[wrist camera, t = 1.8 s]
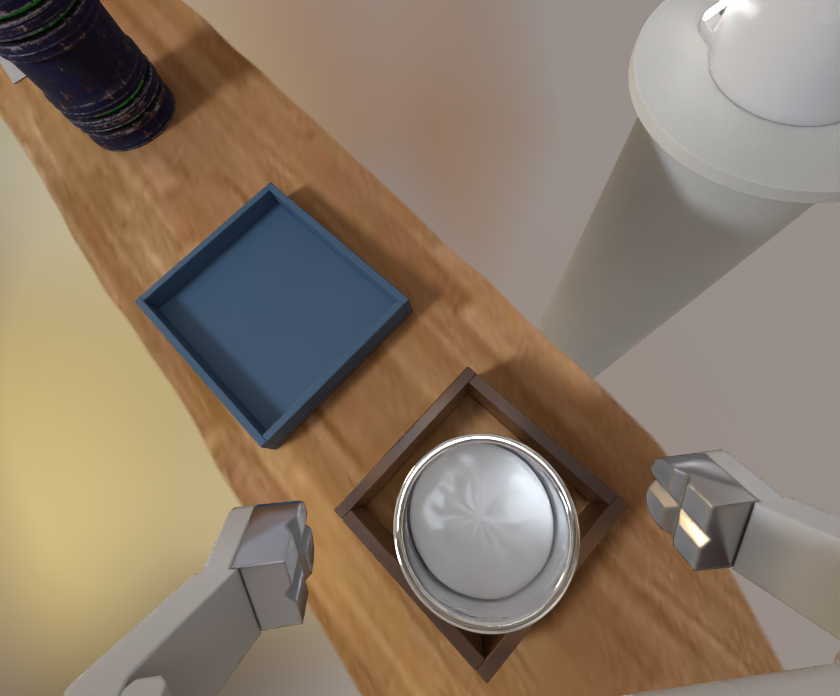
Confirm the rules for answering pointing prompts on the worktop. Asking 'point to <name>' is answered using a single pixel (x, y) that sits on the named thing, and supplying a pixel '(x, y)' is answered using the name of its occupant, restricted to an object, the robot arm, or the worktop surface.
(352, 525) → the wooden square box
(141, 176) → the worktop surface
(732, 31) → the robot arm
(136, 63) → the navy layered cylinder
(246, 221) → the tray
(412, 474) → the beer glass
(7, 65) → the stacked layers on plate
